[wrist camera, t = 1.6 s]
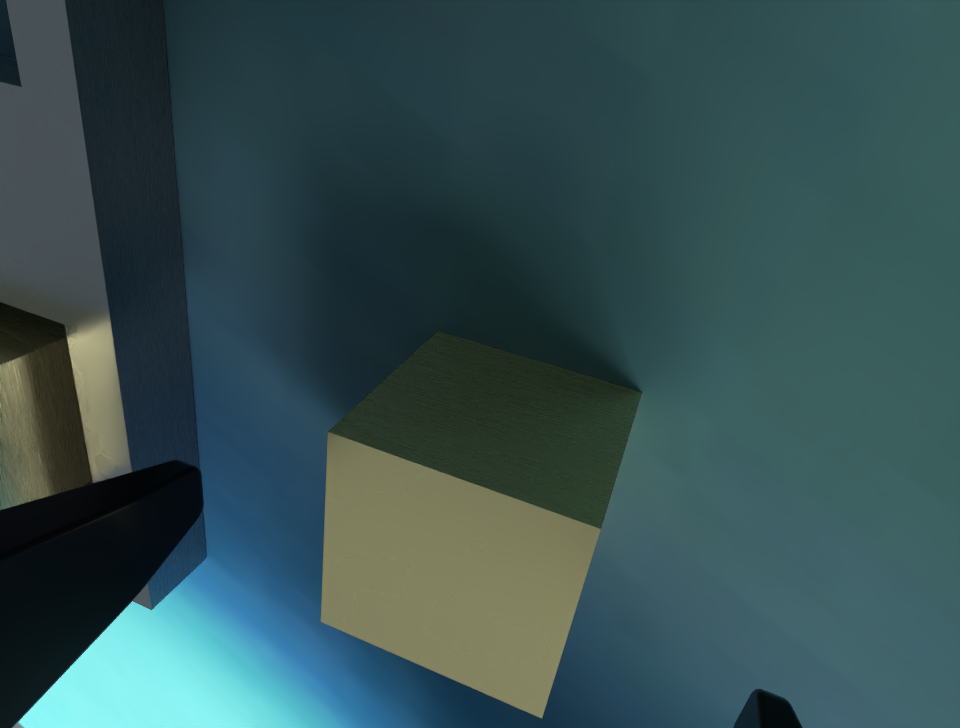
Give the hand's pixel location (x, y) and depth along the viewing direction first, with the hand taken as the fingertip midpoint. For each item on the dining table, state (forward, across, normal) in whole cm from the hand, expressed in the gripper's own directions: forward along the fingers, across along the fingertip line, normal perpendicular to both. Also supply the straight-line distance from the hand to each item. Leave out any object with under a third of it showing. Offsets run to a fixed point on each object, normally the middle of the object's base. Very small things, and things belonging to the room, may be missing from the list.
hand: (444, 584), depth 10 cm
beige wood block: (+4, 0, 0) cm, 4 cm away
